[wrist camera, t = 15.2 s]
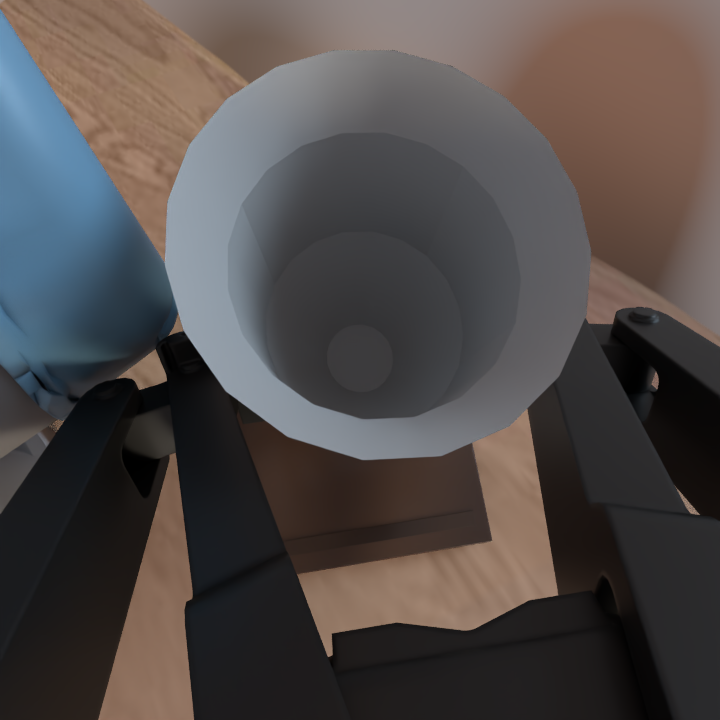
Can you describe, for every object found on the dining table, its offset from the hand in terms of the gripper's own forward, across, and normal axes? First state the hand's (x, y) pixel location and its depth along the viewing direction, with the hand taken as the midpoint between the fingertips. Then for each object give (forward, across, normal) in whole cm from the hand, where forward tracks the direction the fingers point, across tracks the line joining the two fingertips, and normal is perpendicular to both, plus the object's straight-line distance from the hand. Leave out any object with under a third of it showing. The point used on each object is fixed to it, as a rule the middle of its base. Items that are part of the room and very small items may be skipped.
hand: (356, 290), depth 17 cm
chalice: (+4, -1, -8) cm, 9 cm away
